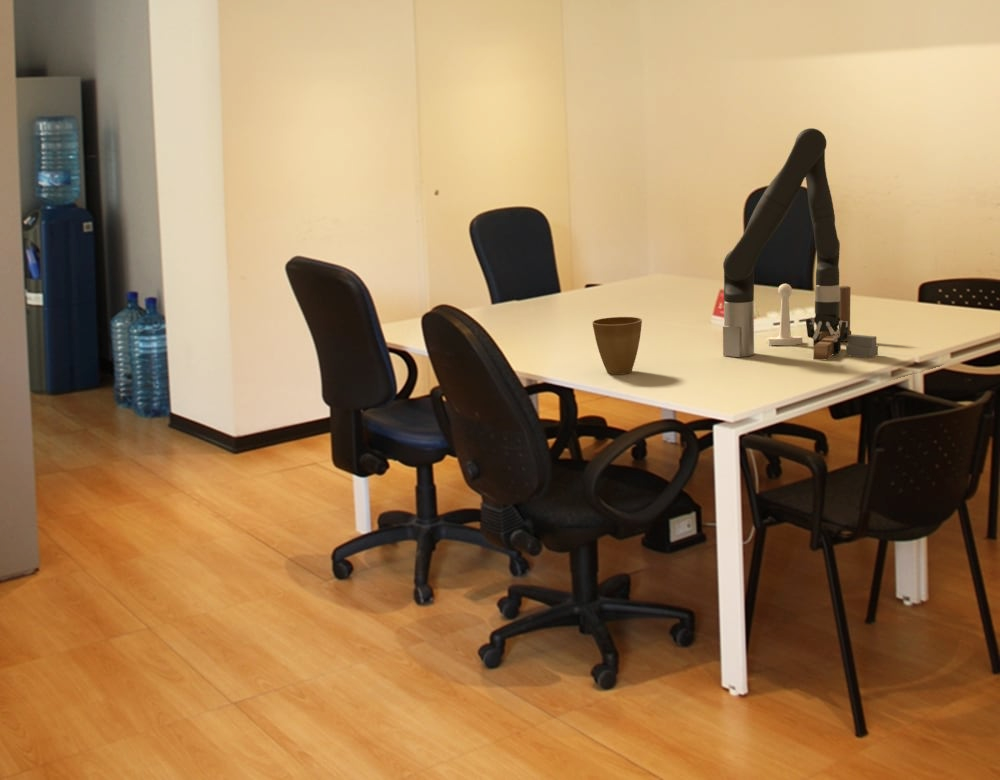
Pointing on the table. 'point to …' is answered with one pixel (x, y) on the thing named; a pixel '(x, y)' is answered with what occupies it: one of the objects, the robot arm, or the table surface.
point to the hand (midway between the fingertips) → (827, 352)
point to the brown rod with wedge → (842, 310)
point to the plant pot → (618, 342)
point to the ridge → (862, 346)
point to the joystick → (784, 321)
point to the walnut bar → (824, 348)
